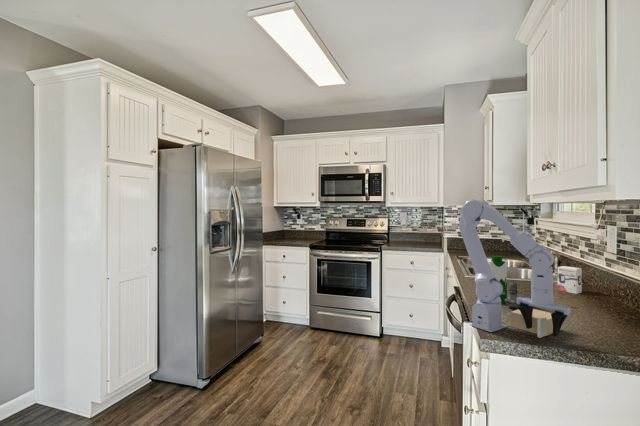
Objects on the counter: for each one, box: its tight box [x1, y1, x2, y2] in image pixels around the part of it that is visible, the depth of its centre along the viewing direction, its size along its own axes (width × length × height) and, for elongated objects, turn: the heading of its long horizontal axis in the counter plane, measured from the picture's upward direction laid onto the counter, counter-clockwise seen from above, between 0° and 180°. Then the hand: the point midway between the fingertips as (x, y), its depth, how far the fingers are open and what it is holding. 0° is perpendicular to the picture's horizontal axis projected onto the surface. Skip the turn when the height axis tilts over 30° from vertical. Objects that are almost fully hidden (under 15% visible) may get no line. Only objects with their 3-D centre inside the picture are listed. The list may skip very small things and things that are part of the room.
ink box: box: [556, 265, 583, 294], centre depth 159 cm, size 8×5×12 cm, turn 28°
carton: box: [510, 308, 553, 335], centre depth 110 cm, size 10×10×5 cm
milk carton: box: [487, 255, 509, 304], centre depth 144 cm, size 9×9×20 cm
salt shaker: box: [505, 279, 520, 312], centre depth 131 cm, size 6×6×12 cm
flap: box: [536, 317, 563, 339], centre depth 105 cm, size 14×1×6 cm, turn 121°
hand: (542, 331), depth 102 cm, fingers open, 7 cm apart
